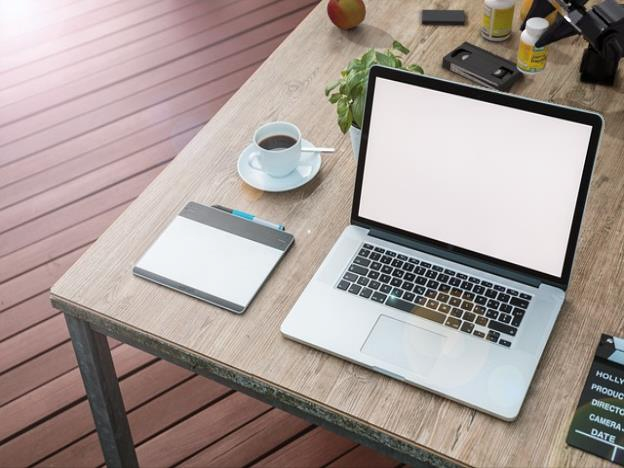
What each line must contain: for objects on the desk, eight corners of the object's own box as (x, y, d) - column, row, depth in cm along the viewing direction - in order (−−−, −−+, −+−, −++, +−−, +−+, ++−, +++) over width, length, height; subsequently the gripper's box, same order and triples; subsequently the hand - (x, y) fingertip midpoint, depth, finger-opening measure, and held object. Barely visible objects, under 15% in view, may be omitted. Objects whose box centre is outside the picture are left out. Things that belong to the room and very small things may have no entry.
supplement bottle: (532, 56, 161) (540, 12, 154) (551, 70, 158) (559, 25, 151) (510, 65, 160) (516, 20, 153) (528, 79, 156) (535, 34, 149)
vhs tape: (441, 66, 170) (441, 57, 168) (464, 49, 173) (465, 41, 172) (500, 93, 162) (501, 85, 161) (523, 75, 166) (524, 67, 165)
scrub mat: (463, 13, 183) (464, 10, 183) (464, 24, 180) (464, 21, 180) (422, 12, 184) (422, 9, 184) (422, 23, 181) (422, 20, 180)
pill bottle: (515, 31, 178) (522, -17, 170) (503, 45, 174) (510, -3, 166) (488, 23, 180) (493, -25, 172) (475, 37, 176) (481, -11, 169)
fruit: (540, -2, 182) (535, -23, 175) (571, 14, 178) (567, -7, 171) (516, 27, 182) (510, 7, 175) (546, 44, 178) (541, 24, 171)
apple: (341, 14, 185) (340, -20, 180) (372, 24, 182) (372, -10, 176) (321, 29, 181) (320, -4, 175) (352, 40, 177) (352, 6, 172)
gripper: (544, -76, 149) (481, -8, 155) (599, -28, 137) (528, 44, 142) (576, -43, 156) (514, 21, 162) (631, 6, 143) (562, 74, 149)
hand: (528, 38), depth 154 cm, fingers closed on supplement bottle, 5 cm apart
